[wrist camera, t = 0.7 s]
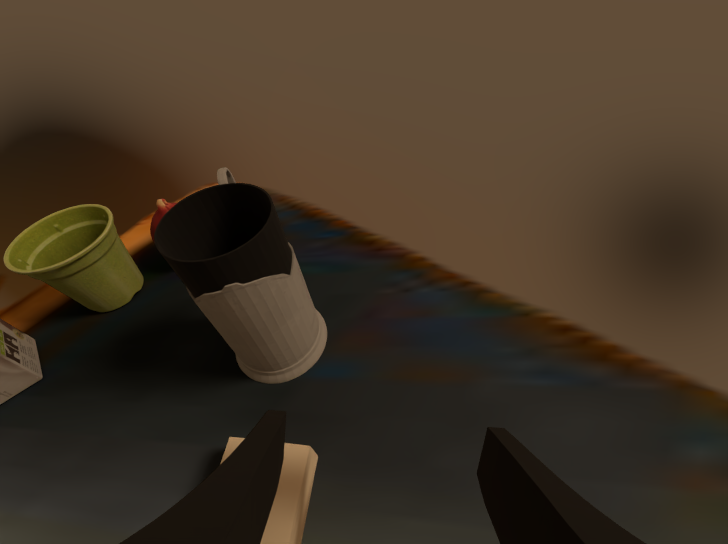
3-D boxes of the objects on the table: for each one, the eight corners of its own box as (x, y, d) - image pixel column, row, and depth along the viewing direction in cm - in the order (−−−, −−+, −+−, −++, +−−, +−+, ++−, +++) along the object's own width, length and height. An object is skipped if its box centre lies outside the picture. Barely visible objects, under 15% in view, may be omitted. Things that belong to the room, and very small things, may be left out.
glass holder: (237, 396, 30) (133, 289, 19) (232, 277, 40) (159, 157, 28) (336, 365, 31) (292, 245, 20) (308, 256, 40) (267, 131, 29)
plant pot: (73, 282, 42) (10, 227, 35) (154, 249, 44) (109, 192, 38) (71, 341, 36) (-5, 289, 30) (164, 300, 38) (113, 243, 32)
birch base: (299, 558, 23) (286, 555, 21) (214, 543, 24) (193, 540, 22) (318, 457, 27) (309, 445, 25) (244, 448, 28) (229, 436, 26)
